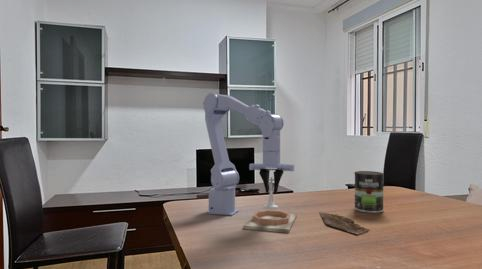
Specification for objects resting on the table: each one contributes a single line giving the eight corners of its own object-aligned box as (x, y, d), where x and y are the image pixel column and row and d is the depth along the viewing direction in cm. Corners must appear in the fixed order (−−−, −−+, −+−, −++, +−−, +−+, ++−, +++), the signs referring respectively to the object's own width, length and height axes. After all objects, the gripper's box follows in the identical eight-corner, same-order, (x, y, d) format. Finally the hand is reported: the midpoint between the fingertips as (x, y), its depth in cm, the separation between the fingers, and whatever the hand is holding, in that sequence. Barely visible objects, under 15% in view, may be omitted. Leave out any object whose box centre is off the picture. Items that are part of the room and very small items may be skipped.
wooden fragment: (376, 235, 92) (376, 232, 92) (340, 237, 90) (340, 233, 90) (337, 213, 117) (337, 210, 117) (309, 214, 116) (309, 211, 116)
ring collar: (250, 223, 100) (250, 218, 100) (258, 213, 111) (258, 209, 111) (286, 226, 97) (286, 221, 97) (291, 216, 108) (291, 211, 108)
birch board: (243, 228, 98) (243, 225, 98) (257, 214, 115) (257, 211, 115) (289, 232, 94) (289, 229, 94) (296, 217, 111) (296, 214, 111)
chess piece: (262, 207, 105) (263, 176, 106) (277, 207, 106) (277, 177, 107) (264, 209, 101) (265, 177, 101) (279, 209, 101) (280, 177, 102)
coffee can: (384, 214, 114) (384, 175, 114) (353, 211, 118) (353, 173, 118) (383, 207, 123) (383, 171, 123) (355, 205, 127) (355, 170, 127)
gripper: (246, 151, 102) (246, 193, 102) (292, 152, 98) (292, 196, 98) (252, 150, 109) (252, 189, 109) (294, 150, 105) (295, 191, 105)
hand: (271, 192), depth 104 cm, fingers closed on chess piece, 2 cm apart
